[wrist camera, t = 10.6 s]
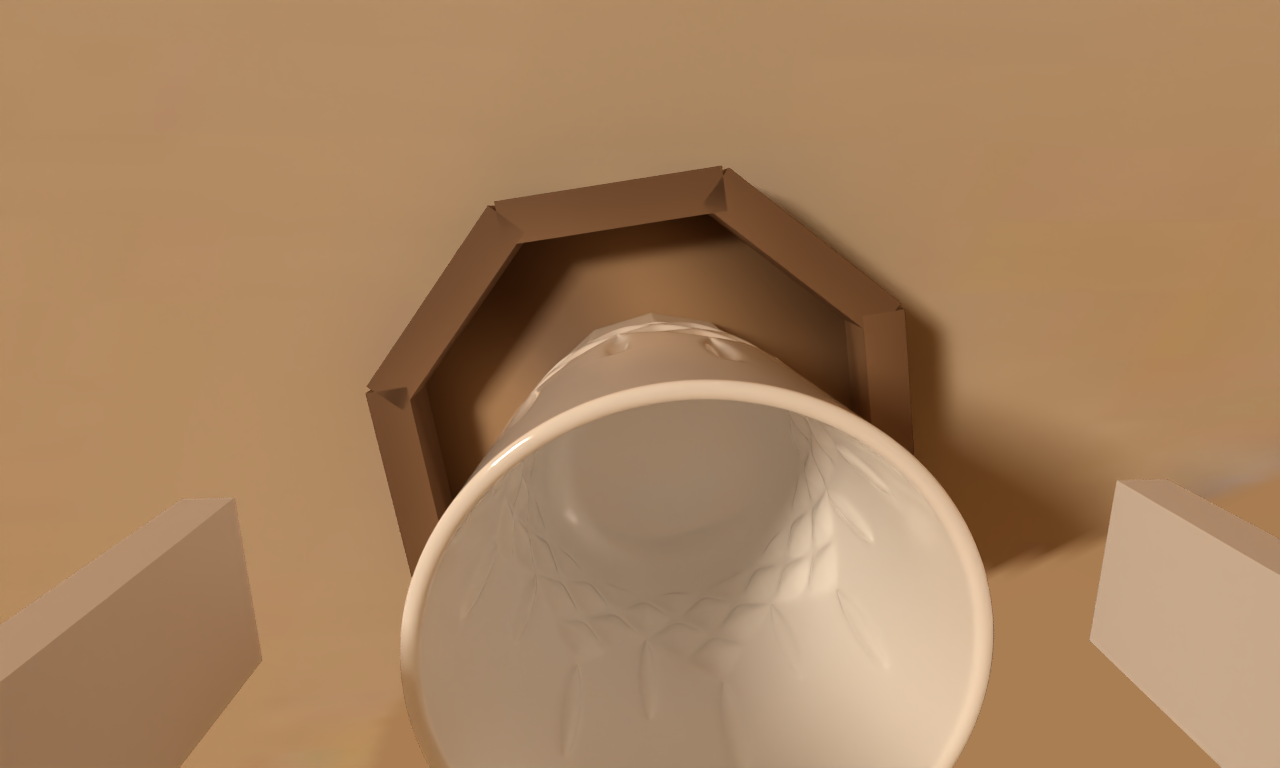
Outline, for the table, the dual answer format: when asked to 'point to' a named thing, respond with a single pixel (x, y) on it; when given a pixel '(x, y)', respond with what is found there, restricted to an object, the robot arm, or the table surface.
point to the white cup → (694, 577)
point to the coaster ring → (619, 316)
